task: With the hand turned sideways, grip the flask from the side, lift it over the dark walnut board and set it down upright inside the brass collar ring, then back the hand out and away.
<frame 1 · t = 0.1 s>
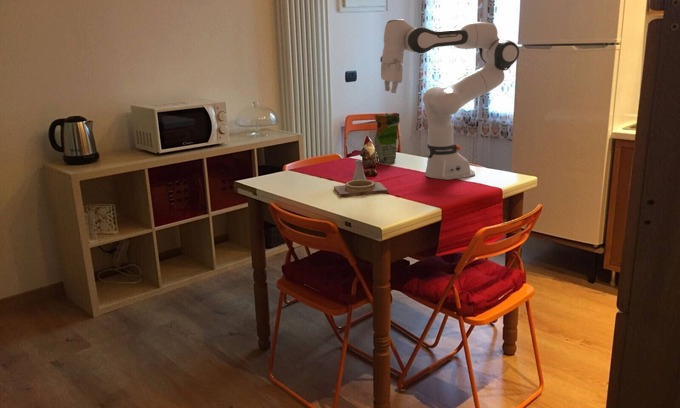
hand: (390, 92, 249), 39 cm above the table, tool pointing down, fingers open, 8 cm apart
pouch: (387, 162, 295), on the table
flask: (359, 183, 258), on the table
collar holder: (360, 191, 244), on the table
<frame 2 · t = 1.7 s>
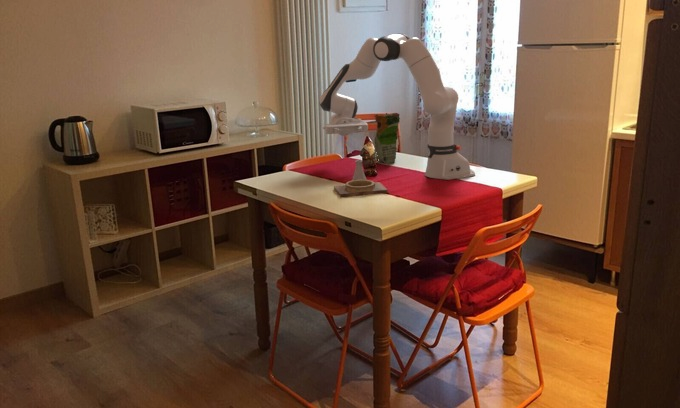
hand: (349, 131, 266), 21 cm above the table, tool horizontal, fingers open, 8 cm apart
nothing on the table moved.
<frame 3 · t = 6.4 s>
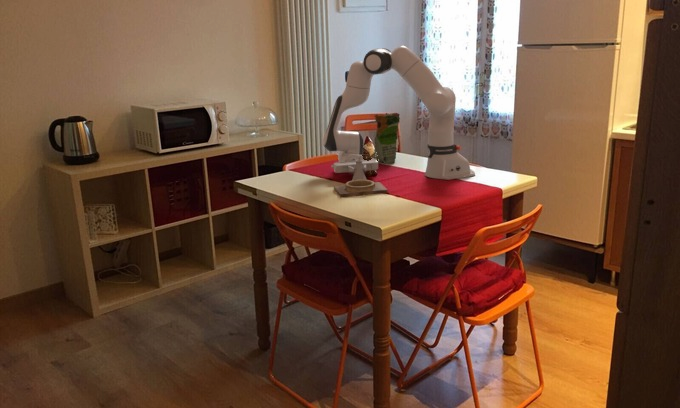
hand: (359, 169, 255), 6 cm above the table, tool horizontal, fingers closed on flask, 3 cm apart
flask: (359, 183, 258), on the table, touching gripper
everything else where it was.
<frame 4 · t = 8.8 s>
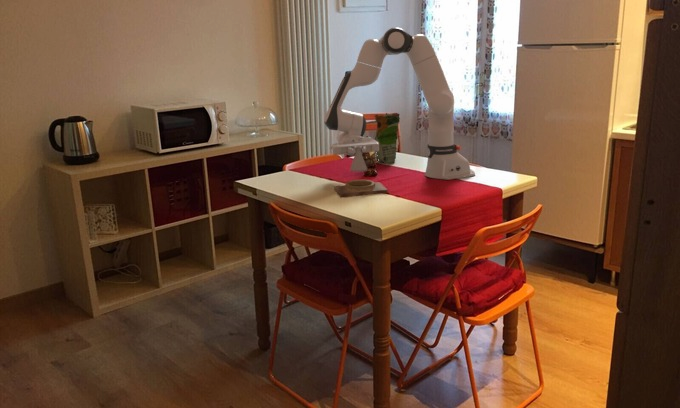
hand: (359, 151, 241), 17 cm above the table, tool horizontal, fingers closed on flask, 3 cm apart
flask: (358, 170, 244), point 8 cm above the table, touching gripper
everything else where it was.
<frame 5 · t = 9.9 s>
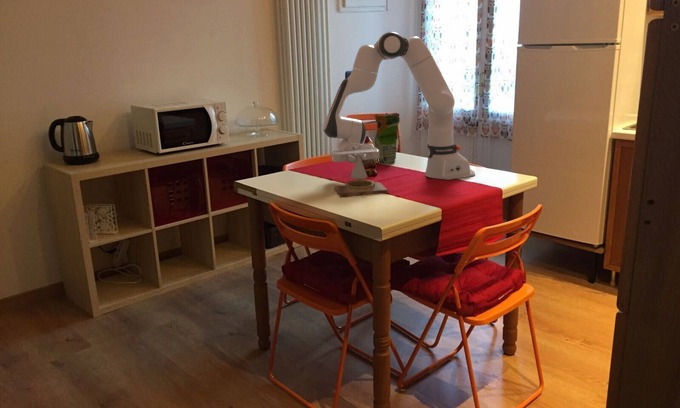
hand: (359, 159, 239), 14 cm above the table, tool horizontal, fingers closed on flask, 3 cm apart
flask: (359, 178, 243), point 6 cm above the table, touching gripper
everything else where it was.
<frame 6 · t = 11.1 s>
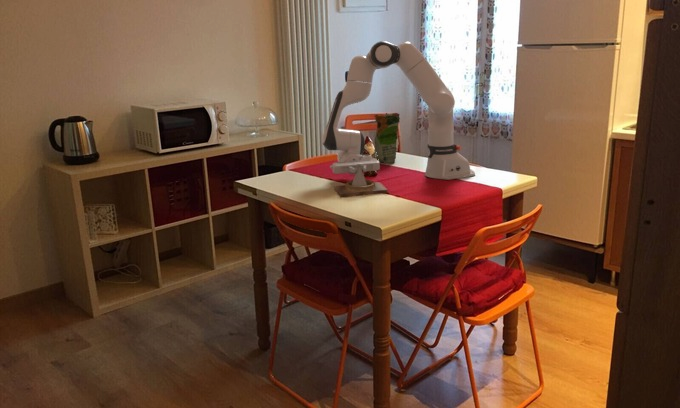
hand: (359, 170, 241), 9 cm above the table, tool horizontal, fingers closed on flask, 2 cm apart
flask: (359, 188, 244), point 1 cm above the table, touching collar holder, gripper
everything else where it was.
when the fingers open (9 cm above the table, at t = 11.2 s): flask stays where it is, resting on collar holder.
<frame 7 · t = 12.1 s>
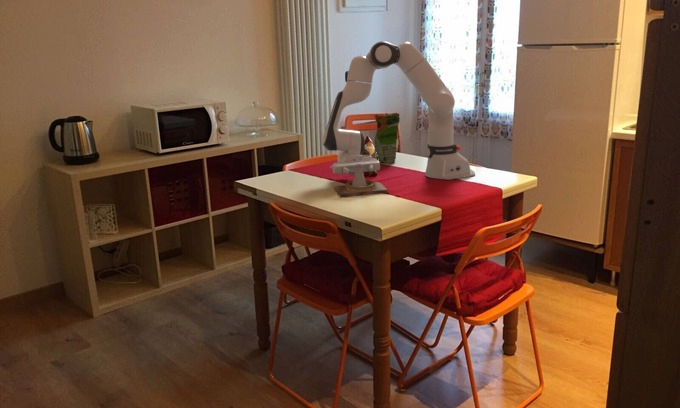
hand: (360, 170, 241), 9 cm above the table, tool horizontal, fingers open, 8 cm apart
flask: (359, 188, 244), point 1 cm above the table, touching collar holder
everything else where it was.
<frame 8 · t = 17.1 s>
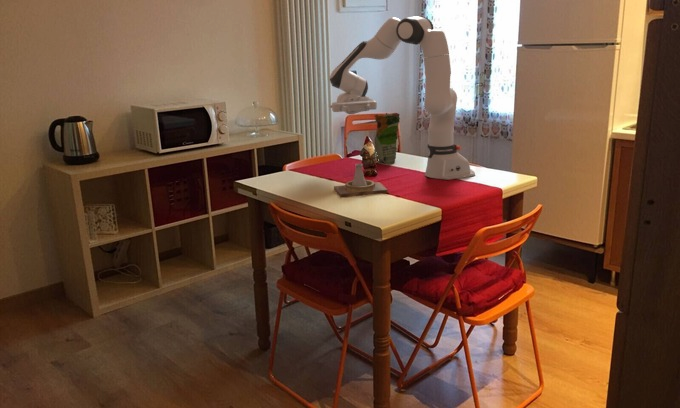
hand: (357, 108, 256), 32 cm above the table, tool horizontal, fingers open, 8 cm apart
nothing on the table moved.
at the end: flask 0.4 cm off-centre on the collar holder, point 1.3 cm above the collar holder's base; flask tilted 0°; the gripper is holding nothing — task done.
